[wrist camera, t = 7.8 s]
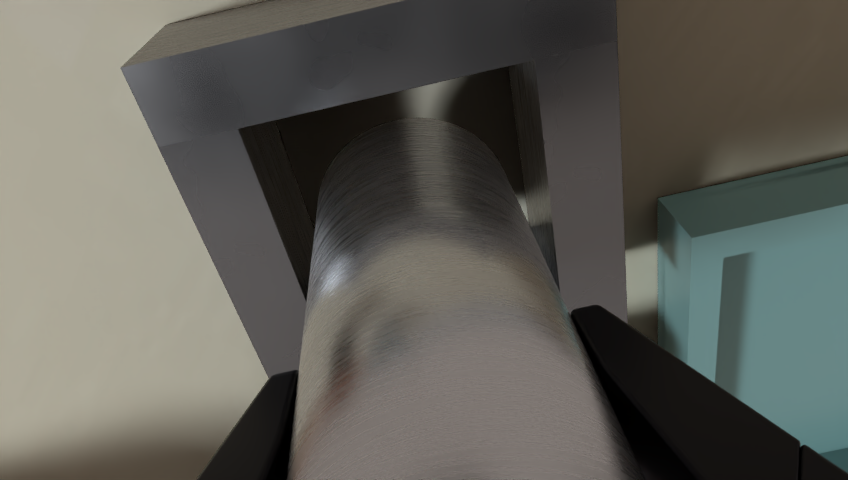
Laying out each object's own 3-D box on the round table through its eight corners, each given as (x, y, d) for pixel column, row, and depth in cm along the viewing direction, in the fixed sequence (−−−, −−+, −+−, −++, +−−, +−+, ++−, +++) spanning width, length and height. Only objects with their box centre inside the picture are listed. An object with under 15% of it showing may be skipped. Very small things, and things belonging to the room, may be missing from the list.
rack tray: (916, 433, 23) (960, 480, 21) (658, 487, 23) (681, 537, 22) (1023, 116, 16) (1100, 147, 15) (657, 198, 17) (691, 238, 15)
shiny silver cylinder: (521, 264, 14) (713, 750, 6) (348, 303, 14) (338, 825, 7) (493, 96, 12) (734, 527, 4) (291, 145, 12) (179, 644, 4)
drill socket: (588, 261, 17) (627, 331, 15) (292, 326, 18) (282, 406, 15) (563, -71, 13) (614, -50, 10) (166, 25, 13) (120, 67, 11)
